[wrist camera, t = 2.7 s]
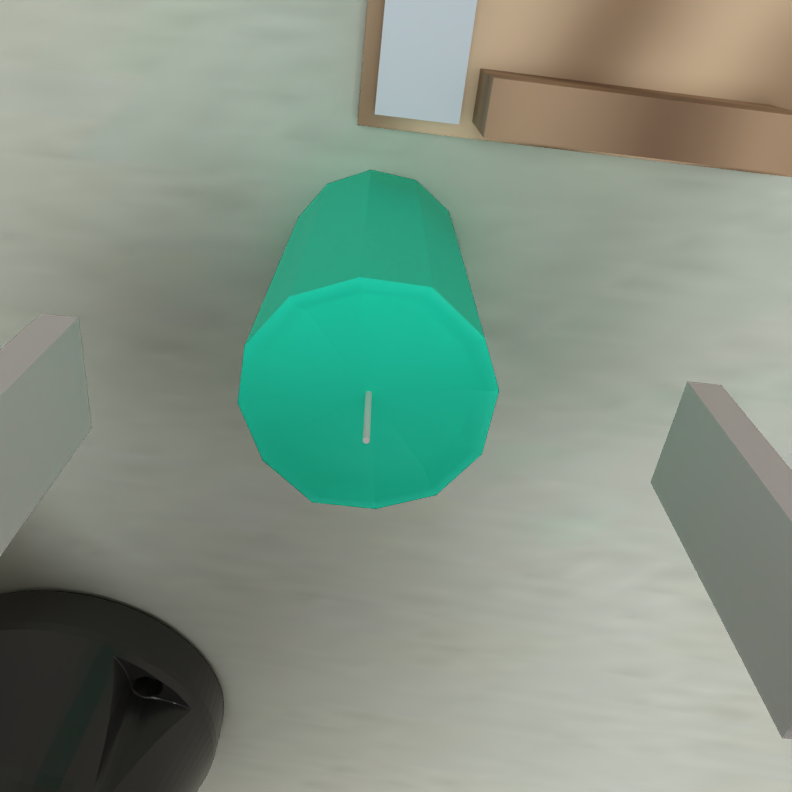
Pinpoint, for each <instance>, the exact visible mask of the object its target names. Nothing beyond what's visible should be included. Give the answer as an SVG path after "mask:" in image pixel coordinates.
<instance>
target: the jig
mask: <svg viewBox="0 0 792 792" xmlns="http://www.w3.org/2000/svg"><path fill="white" fill-rule="evenodd" d="M384 8H385V0H368V3H367V15H366V27H365V39H364V51H363V63H362V75H361V88H360V100H359V112H358V124H357V125H361V126H369V127H377V128H386V129H394V130H402V131H411V132H419V133H427V134H436V135H444V136H453V137H461V138H469V139H478V140H486V141H494V142H503V143H511V144H519V145H528V146H536V147H544V148H553V149H561V150H570V151H578V152H586V153H595V154H603V155H611V156H620V157H628V158H636V159H645V160H653V161H661V162H670V163H678V164H687V165H695V166H703V167H712V168H720V169H728V170H737V171H745V172H753V173H762V174H770V175H778V176H787V177H792V0H477V7H476V13H475V20H474V27H473V33H472V40H471V47H470V54H469V60H468V67H467V74H466V80H465V87H464V94H463V101H462V107H461V114H460V121H459V125H458V124H450V123H442V122H434V121H425V120H417V119H409V118H400V117H392V116H384V115H376V114H375V104H376V94H377V83H378V72H379V61H380V51H381V40H382V29H383V18H384Z"/></svg>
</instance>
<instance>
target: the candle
mask: <svg viewBox="0 0 792 792" xmlns="http://www.w3.org/2000/svg"><path fill="white" fill-rule="evenodd" d="M498 393H499V388H498V385H497V381H496V377H495V374H494V370H493V366H492V363H491V359H490V355H489V352H488V348H487V344H486V340H485V337H484V333H483V330H482V326H481V323H480V319H479V316H478V312H477V309H476V305H475V302H474V298H473V295H472V291H471V288H470V284H469V281H468V277H467V274H466V270H465V267H464V263H463V260H462V256H461V253H460V249H459V246H458V242H457V239H456V235H455V232H454V228H453V224H452V221H451V217H450V214H449V211H448V210H447V209H446V208H445V207H444V206H443V205H442V204H441V203H439V202H438V201H437V200H436V199H435V198H434V197H433V196H432V195H431V194H430V193H429V192H428V191H427V190H426V189H425V188H424V187H423V186H422V185H421V184H420V183H419V182H417V181H416V180H413V179H409V178H404V177H400V176H396V175H391V174H387V173H383V172H378V171H374V170H369V171H366V172H363V173H360V174H356V175H353V176H350V177H347V178H344V179H341V180H338V181H335V182H332V183H329V184H327V185H326V186H325V187H324V188H323V190H322V191H321V192H320V193H319V194H318V195H317V197H316V198H315V199H314V200H313V201H312V202H311V204H310V205H309V206H308V207H307V208H306V209H305V211H304V212H303V213H302V214H301V215H300V216H299V217H298V220H297V222H296V225H295V227H294V229H293V232H292V234H291V236H290V239H289V241H288V244H287V246H286V248H285V251H284V253H283V255H282V258H281V260H280V263H279V265H278V267H277V270H276V272H275V275H274V277H273V279H272V282H271V284H270V286H269V289H268V291H267V294H266V296H265V298H264V301H263V303H262V306H261V308H260V310H259V313H258V315H257V317H256V320H255V322H254V325H253V327H252V329H251V332H250V334H249V337H248V339H247V341H246V344H245V347H244V355H243V364H242V372H241V380H240V389H239V397H238V405H239V407H240V409H241V412H242V414H243V416H244V419H245V421H246V423H247V425H248V428H249V430H250V432H251V435H252V437H253V439H254V441H255V444H256V446H257V448H258V451H259V453H260V455H261V457H262V460H263V461H264V462H265V463H267V464H268V465H269V466H270V467H271V468H272V469H274V470H275V471H276V472H277V473H278V474H279V475H281V476H282V477H283V478H284V479H285V480H287V481H288V482H289V483H290V484H291V485H292V486H294V487H295V488H296V489H297V490H298V491H300V492H301V493H302V494H303V495H304V496H305V497H307V498H308V499H309V500H310V501H311V502H314V503H324V504H333V505H343V506H352V507H362V508H371V509H377V508H382V507H386V506H390V505H395V504H399V503H404V502H408V501H412V500H417V499H421V498H426V497H430V496H434V495H437V494H438V493H439V492H440V491H441V490H442V489H443V488H445V487H446V486H447V485H448V484H449V483H450V482H451V481H452V480H453V479H455V478H456V477H457V476H458V475H459V474H460V473H461V472H462V471H463V470H465V469H466V468H467V467H468V466H469V465H470V464H471V463H472V462H474V461H475V460H476V459H477V458H478V457H479V456H480V455H481V454H482V452H483V448H484V444H485V441H486V437H487V433H488V430H489V426H490V422H491V419H492V415H493V411H494V408H495V404H496V400H497V397H498Z"/></svg>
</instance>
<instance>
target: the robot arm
mask: <svg viewBox="0 0 792 792" xmlns="http://www.w3.org/2000/svg"><path fill="white" fill-rule="evenodd" d="M91 428H92V425H91V417H90V409H89V400H88V392H87V383H86V375H85V367H84V358H83V350H82V342H81V333H80V325H79V317H70V316H61V315H51V314H42V313H41V314H40V315H39V316H38V317H37V318H36V319H34V320H33V321H32V322H31V323H30V324H29V325H28V326H27V327H25V328H24V329H23V330H22V331H21V332H20V333H19V334H18V335H16V336H15V337H14V338H13V339H12V340H11V341H10V342H9V343H7V344H6V345H5V346H4V347H3V348H2V349H1V350H0V556H1V555H2V553H3V552H4V550H5V549H6V548H7V546H8V545H9V543H10V542H11V541H12V539H13V538H14V536H15V535H16V534H17V532H18V531H19V529H20V528H21V527H22V525H23V524H24V522H25V521H26V520H27V518H28V517H29V515H30V514H31V513H32V511H33V510H34V508H35V507H36V505H37V504H38V503H39V501H40V500H41V498H42V497H43V496H44V494H45V493H46V491H47V490H48V489H49V487H50V486H51V484H52V483H53V482H54V480H55V479H56V477H57V476H58V475H59V473H60V472H61V470H62V469H63V468H64V466H65V465H66V463H67V462H68V461H69V459H70V458H71V456H72V455H73V454H74V452H75V451H76V449H77V448H78V447H79V445H80V444H81V442H82V441H83V440H84V438H85V437H86V435H87V434H88V433H89V431H90V430H91ZM651 484H652V486H653V488H654V490H655V492H656V494H657V496H658V498H659V500H660V501H661V503H662V505H663V507H664V509H665V511H666V513H667V515H668V517H669V519H670V521H671V523H672V525H673V527H674V529H675V531H676V533H677V535H678V536H679V538H680V540H681V542H682V544H683V546H684V548H685V550H686V552H687V554H688V556H689V558H690V560H691V562H692V564H693V566H694V568H695V570H696V571H697V573H698V575H699V577H700V579H701V581H702V583H703V585H704V587H705V589H706V591H707V593H708V595H709V597H710V599H711V601H712V603H713V605H714V606H715V608H716V610H717V612H718V614H719V616H720V618H721V620H722V622H723V624H724V626H725V628H726V630H727V632H728V634H729V636H730V638H731V640H732V642H733V643H734V645H735V647H736V649H737V651H738V653H739V655H740V657H741V659H742V661H743V663H744V665H745V667H746V669H747V671H748V673H749V675H750V677H751V678H752V680H753V682H754V684H755V686H756V688H757V690H758V692H759V694H760V696H761V698H762V700H763V702H764V704H765V706H766V708H767V710H768V712H769V713H770V715H771V717H772V719H773V721H774V723H775V725H776V727H777V729H778V731H779V733H780V735H781V737H782V738H786V739H792V470H791V469H790V468H789V467H788V465H787V464H786V463H785V462H784V461H783V459H782V458H781V457H780V456H779V454H778V453H777V452H776V451H775V450H774V448H773V447H772V446H771V445H770V444H769V442H768V441H767V440H766V439H765V437H764V436H763V435H762V434H761V433H760V431H759V430H758V429H757V428H756V427H755V425H754V424H753V423H752V422H751V420H750V419H749V418H748V417H747V416H746V414H745V413H744V412H743V411H742V410H741V408H740V407H739V406H738V405H737V403H736V402H735V401H734V400H733V399H732V397H731V396H730V395H729V394H728V393H727V391H726V390H725V389H724V388H723V386H722V385H716V384H707V383H697V382H688V381H687V384H686V387H685V390H684V392H683V395H682V398H681V401H680V403H679V406H678V409H677V412H676V414H675V417H674V420H673V423H672V425H671V428H670V431H669V433H668V436H667V439H666V442H665V444H664V447H663V450H662V453H661V455H660V458H659V461H658V464H657V466H656V469H655V472H654V475H653V477H652V480H651ZM223 715H224V704H223V697H222V693H221V689H220V686H219V684H218V681H217V679H216V677H215V675H214V673H213V672H212V670H211V669H210V667H209V665H208V664H207V663H206V661H205V660H204V659H203V658H202V656H201V655H200V654H199V653H198V652H197V651H196V650H195V649H194V648H193V647H192V646H191V645H190V644H189V643H188V642H186V641H185V640H184V639H183V638H182V637H180V636H179V635H178V634H176V633H175V632H174V631H172V630H171V629H169V628H168V627H166V626H164V625H163V624H161V623H159V622H158V621H156V620H154V619H152V618H150V617H148V616H146V615H144V614H142V613H140V612H138V611H135V610H133V609H131V608H128V607H125V606H122V605H120V604H117V603H113V602H110V601H107V600H103V599H99V598H95V597H90V596H86V595H80V594H74V593H65V592H53V591H29V592H17V593H9V594H3V595H0V792H197V791H198V789H199V788H200V786H201V784H202V783H203V781H204V779H205V778H206V776H207V774H208V772H209V769H210V767H211V764H212V762H213V759H214V756H215V752H216V747H217V743H218V739H219V735H220V730H221V726H222V722H223Z"/></svg>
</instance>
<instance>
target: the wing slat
mask: <svg viewBox="0 0 792 792" xmlns="http://www.w3.org/2000/svg"><path fill="white" fill-rule="evenodd" d="M476 7H477V0H385V8H384V18H383V29H382V40H381V51H380V61H379V72H378V83H377V94H376V104H375V114H376V115H384V116H392V117H400V118H409V119H417V120H425V121H434V122H442V123H450V124H458V125H459V121H460V114H461V107H462V101H463V94H464V87H465V80H466V74H467V67H468V60H469V54H470V47H471V40H472V33H473V27H474V20H475V13H476Z"/></svg>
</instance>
